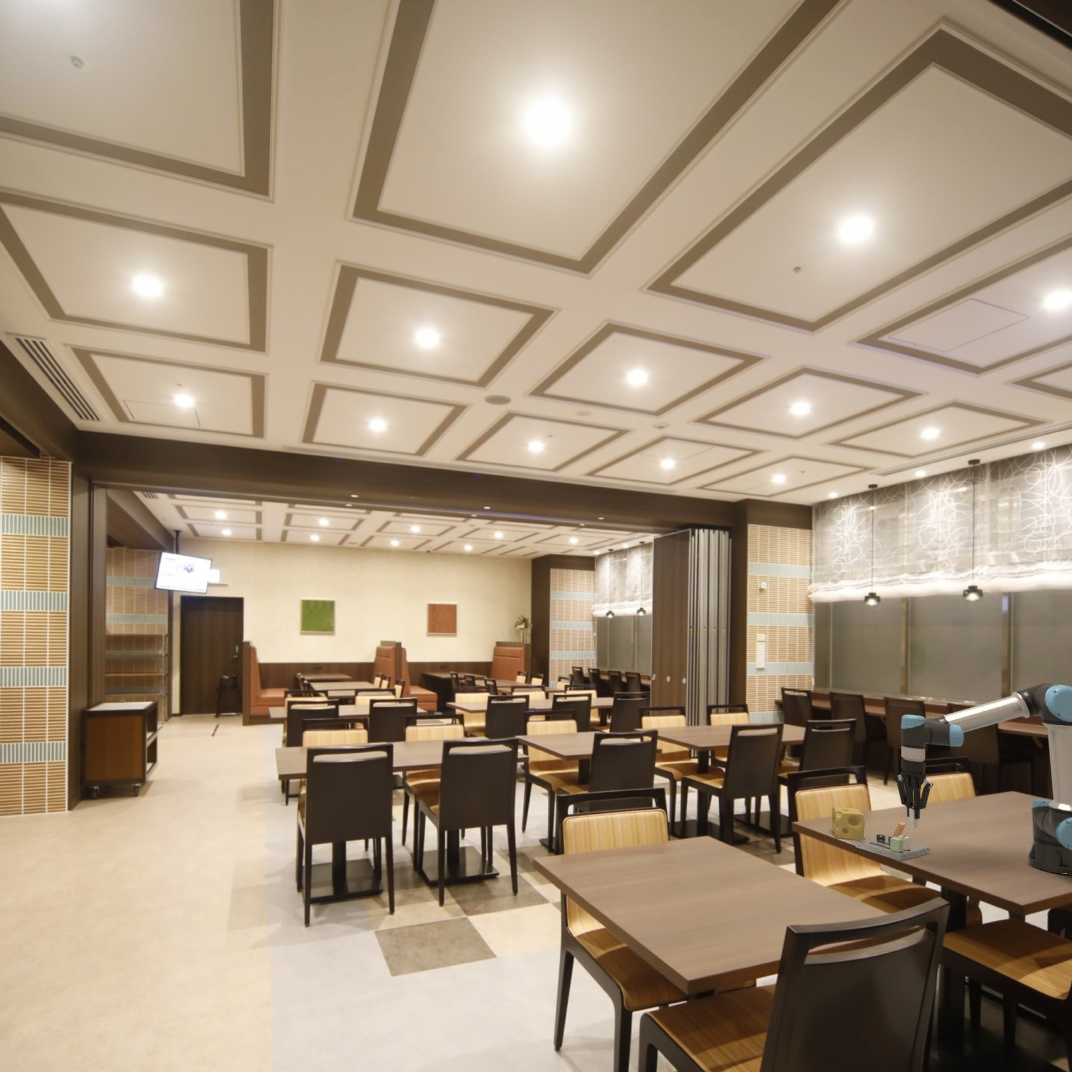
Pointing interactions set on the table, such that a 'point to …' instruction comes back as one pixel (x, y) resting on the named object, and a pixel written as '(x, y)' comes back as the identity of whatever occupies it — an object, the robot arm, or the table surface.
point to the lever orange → (899, 829)
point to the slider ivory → (905, 842)
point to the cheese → (847, 823)
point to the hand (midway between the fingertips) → (913, 827)
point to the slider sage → (896, 844)
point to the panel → (884, 848)
